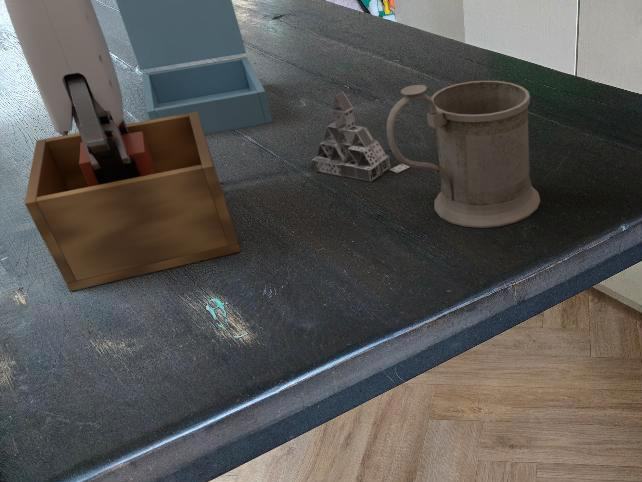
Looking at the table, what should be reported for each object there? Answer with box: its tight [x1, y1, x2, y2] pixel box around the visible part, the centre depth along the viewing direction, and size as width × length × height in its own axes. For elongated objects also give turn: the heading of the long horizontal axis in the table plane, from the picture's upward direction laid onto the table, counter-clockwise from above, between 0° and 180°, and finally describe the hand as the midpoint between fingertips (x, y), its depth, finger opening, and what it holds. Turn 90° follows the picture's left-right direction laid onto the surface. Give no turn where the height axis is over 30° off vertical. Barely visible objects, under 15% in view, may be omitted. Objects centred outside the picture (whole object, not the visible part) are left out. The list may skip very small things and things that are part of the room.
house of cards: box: [311, 90, 410, 183], centre depth 73 cm, size 9×9×8 cm
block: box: [79, 131, 158, 187], centre depth 62 cm, size 5×5×5 cm
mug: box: [386, 80, 541, 229], centre depth 63 cm, size 14×10×12 cm
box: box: [141, 56, 274, 136], centre depth 86 cm, size 15×13×4 cm
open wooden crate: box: [24, 112, 241, 292], centre depth 63 cm, size 14×14×8 cm
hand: (129, 192), depth 64 cm, fingers closed on block, 5 cm apart
